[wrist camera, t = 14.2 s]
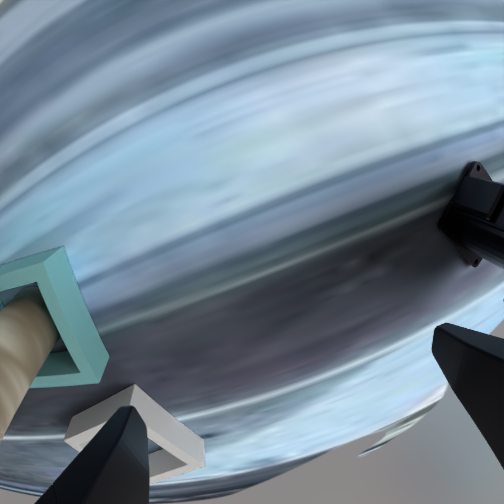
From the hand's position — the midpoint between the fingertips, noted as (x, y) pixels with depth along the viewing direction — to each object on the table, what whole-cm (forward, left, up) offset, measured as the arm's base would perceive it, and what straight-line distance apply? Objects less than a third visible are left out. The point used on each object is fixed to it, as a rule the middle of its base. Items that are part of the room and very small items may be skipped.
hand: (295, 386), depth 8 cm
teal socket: (+10, +12, -12) cm, 20 cm away
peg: (+10, +12, -12) cm, 20 cm away
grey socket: (-1, +19, -12) cm, 22 cm away
